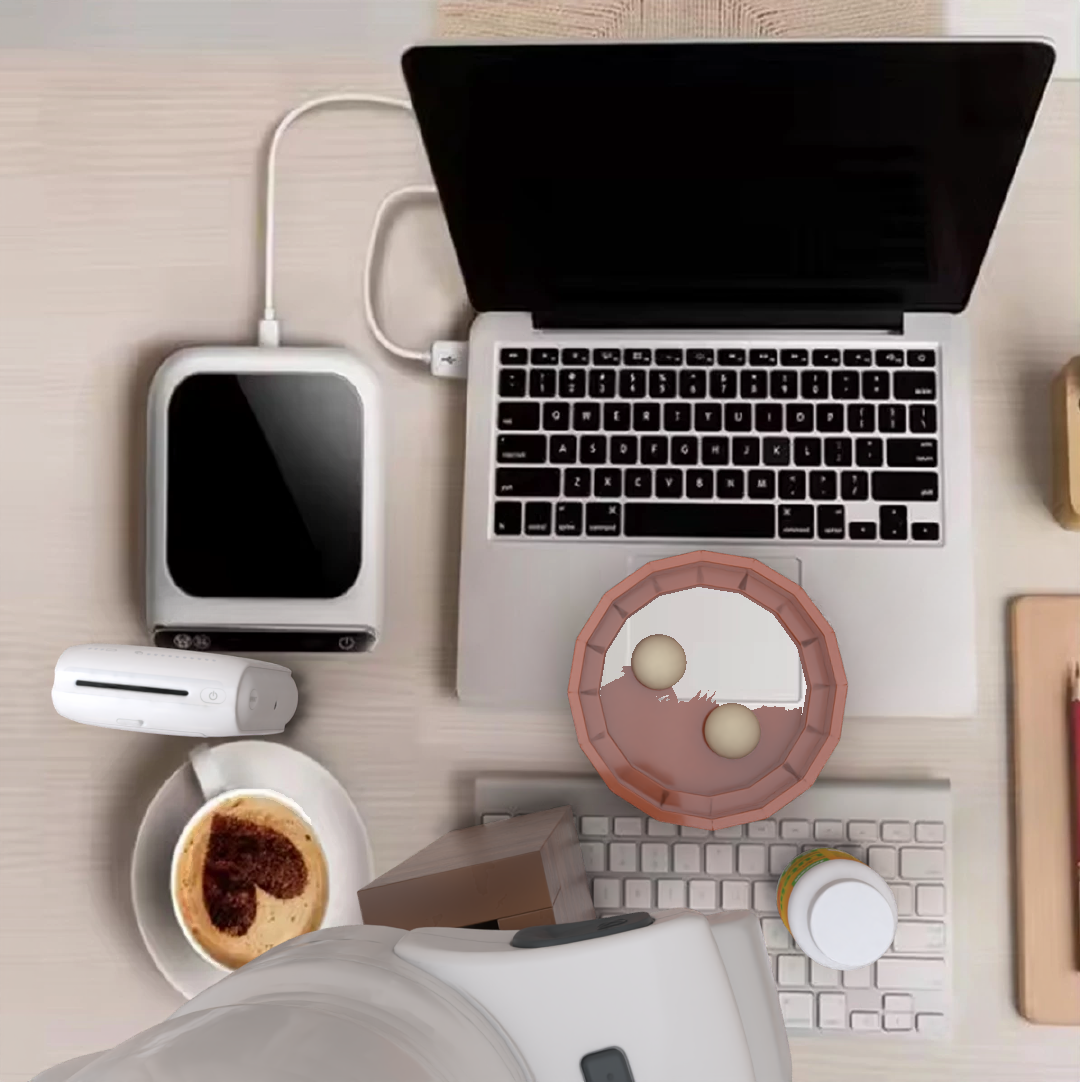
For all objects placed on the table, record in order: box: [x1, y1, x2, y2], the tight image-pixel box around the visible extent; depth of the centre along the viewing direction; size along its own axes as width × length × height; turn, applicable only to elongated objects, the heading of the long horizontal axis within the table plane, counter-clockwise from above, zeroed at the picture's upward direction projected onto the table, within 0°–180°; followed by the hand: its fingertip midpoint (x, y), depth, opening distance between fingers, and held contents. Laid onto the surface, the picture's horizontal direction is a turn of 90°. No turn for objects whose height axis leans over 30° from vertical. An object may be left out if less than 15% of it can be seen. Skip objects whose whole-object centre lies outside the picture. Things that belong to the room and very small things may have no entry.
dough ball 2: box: [705, 703, 761, 759], centre depth 75 cm, size 3×3×3 cm
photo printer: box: [50, 642, 299, 738], centre depth 73 cm, size 10×4×12 cm, turn 84°
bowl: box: [566, 549, 849, 832], centre depth 75 cm, size 14×14×6 cm
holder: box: [356, 804, 597, 931], centre depth 64 cm, size 7×7×26 cm
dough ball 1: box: [631, 634, 687, 690], centre depth 76 cm, size 3×3×3 cm
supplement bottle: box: [775, 847, 899, 971], centre depth 71 cm, size 5×5×10 cm
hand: (437, 1011), depth 43 cm, fingers closed
